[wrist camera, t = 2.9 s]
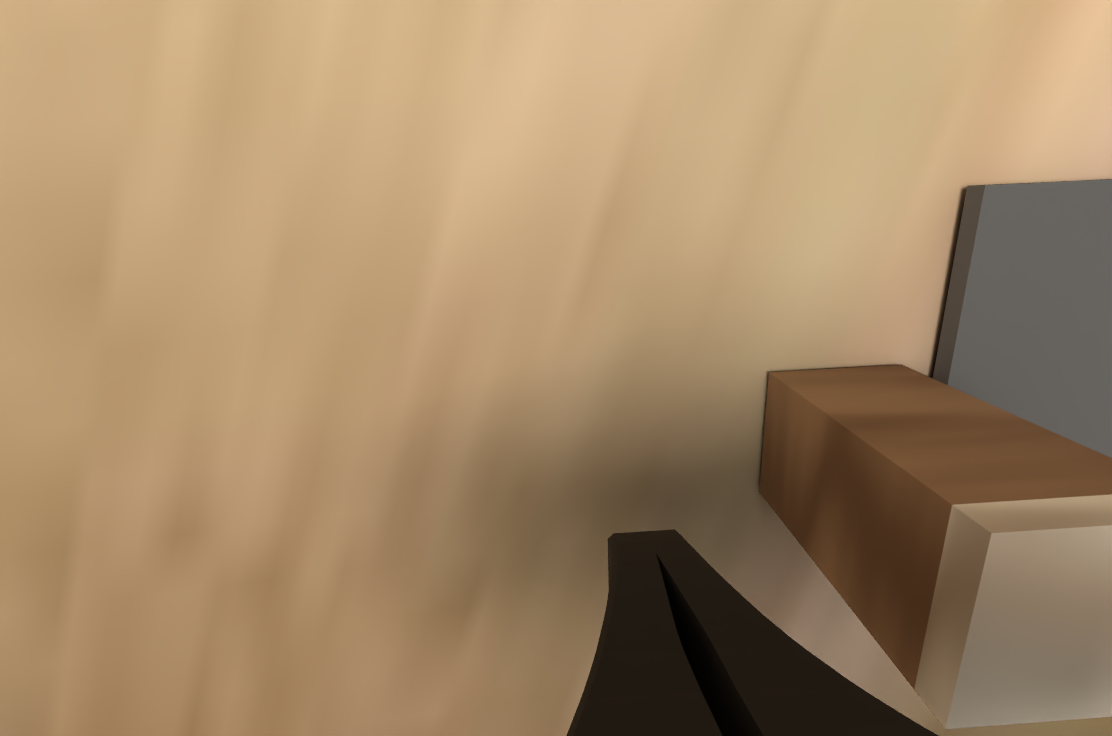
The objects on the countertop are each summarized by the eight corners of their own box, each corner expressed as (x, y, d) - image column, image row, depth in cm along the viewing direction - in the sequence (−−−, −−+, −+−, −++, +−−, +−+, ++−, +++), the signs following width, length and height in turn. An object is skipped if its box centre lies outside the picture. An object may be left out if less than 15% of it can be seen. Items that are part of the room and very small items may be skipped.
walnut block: (882, 483, 17) (1164, 712, 9) (759, 491, 17) (945, 729, 9) (901, 364, 16) (1244, 516, 8) (768, 372, 16) (991, 533, 8)
